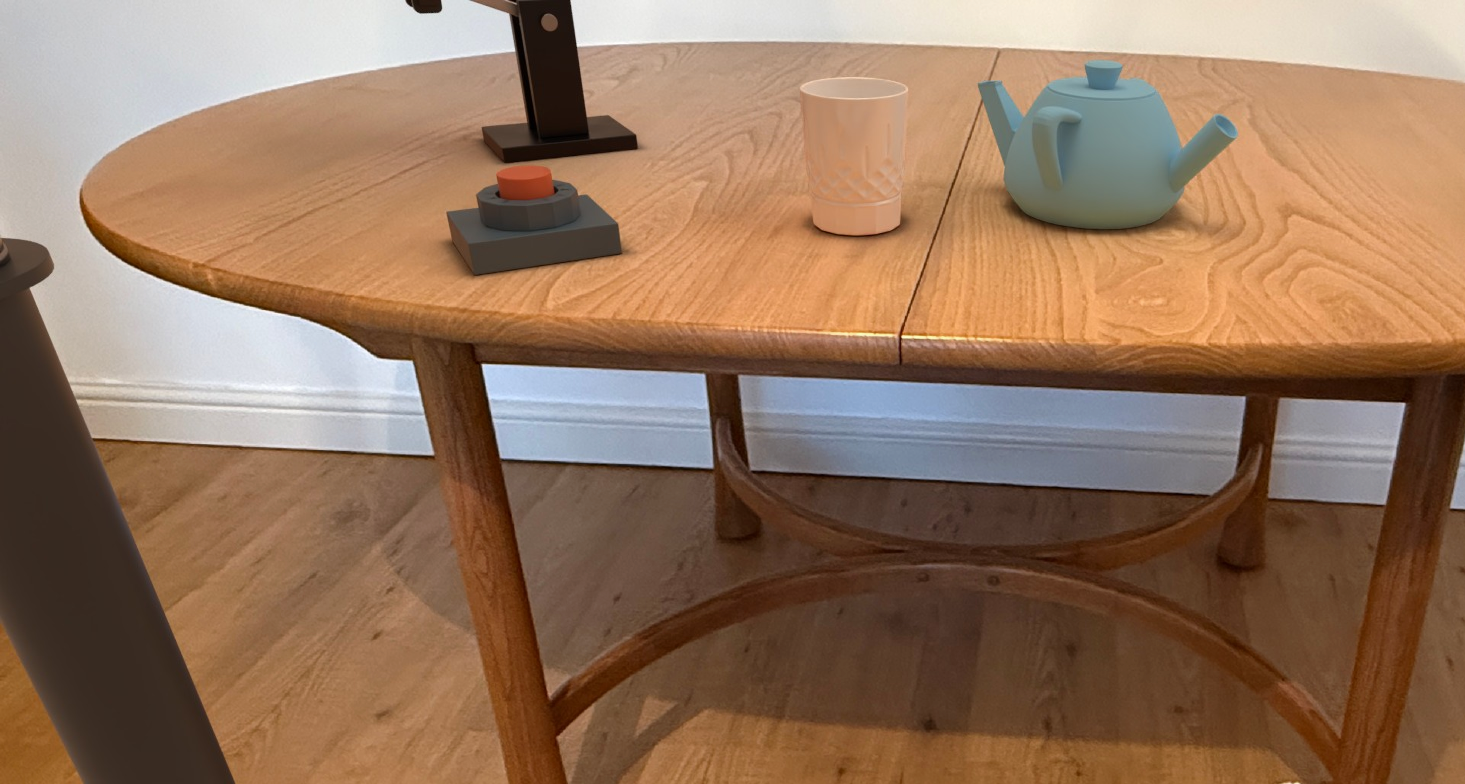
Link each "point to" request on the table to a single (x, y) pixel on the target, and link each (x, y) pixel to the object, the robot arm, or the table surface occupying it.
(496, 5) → the tap lever
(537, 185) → the button
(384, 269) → the table surface
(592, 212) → the button block
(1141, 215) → the teapot
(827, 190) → the peach cup
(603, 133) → the bracket
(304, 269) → the table surface
